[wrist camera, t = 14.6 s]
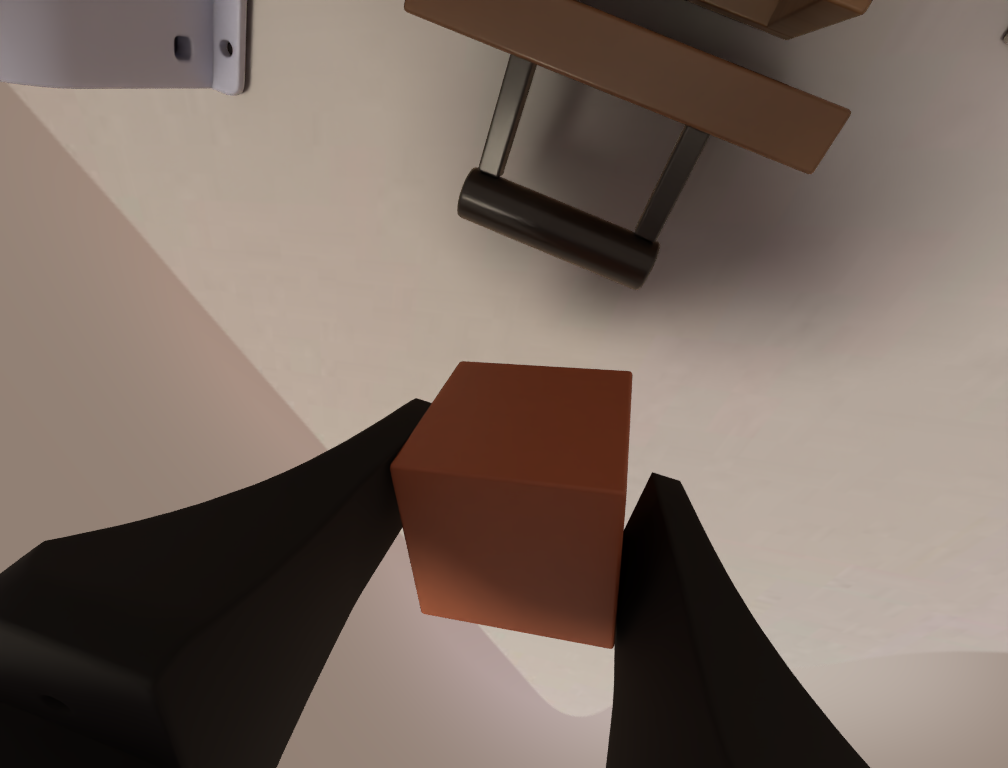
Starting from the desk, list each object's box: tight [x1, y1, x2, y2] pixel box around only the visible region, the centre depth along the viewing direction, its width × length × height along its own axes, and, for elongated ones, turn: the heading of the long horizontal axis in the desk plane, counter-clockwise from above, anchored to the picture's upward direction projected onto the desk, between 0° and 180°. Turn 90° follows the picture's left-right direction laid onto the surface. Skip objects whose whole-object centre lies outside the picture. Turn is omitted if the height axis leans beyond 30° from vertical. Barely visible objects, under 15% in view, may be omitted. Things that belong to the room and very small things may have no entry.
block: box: [390, 361, 632, 649], centre depth 11 cm, size 4×4×4 cm
